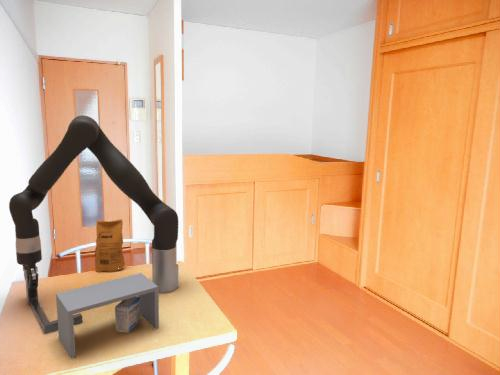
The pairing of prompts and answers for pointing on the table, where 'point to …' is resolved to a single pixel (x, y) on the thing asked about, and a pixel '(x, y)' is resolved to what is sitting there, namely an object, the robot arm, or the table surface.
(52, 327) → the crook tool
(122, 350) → the table surface
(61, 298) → the cubby
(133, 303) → the medicine box
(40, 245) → the robot arm
